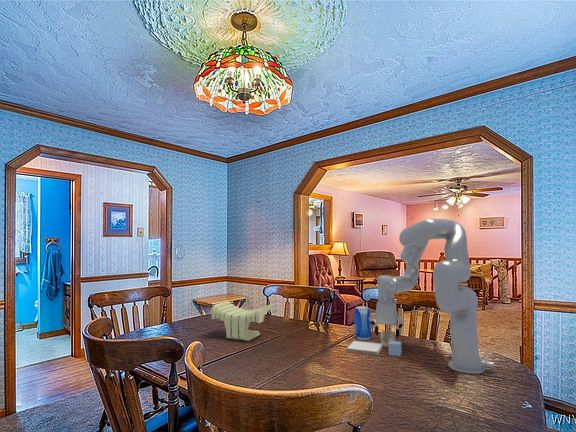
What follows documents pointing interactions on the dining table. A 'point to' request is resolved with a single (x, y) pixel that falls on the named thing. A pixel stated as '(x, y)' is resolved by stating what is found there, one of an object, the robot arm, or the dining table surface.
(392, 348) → the blue cube
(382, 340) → the maple cube
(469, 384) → the dining table surface
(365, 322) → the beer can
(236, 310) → the slatted curved stool
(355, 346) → the base board
